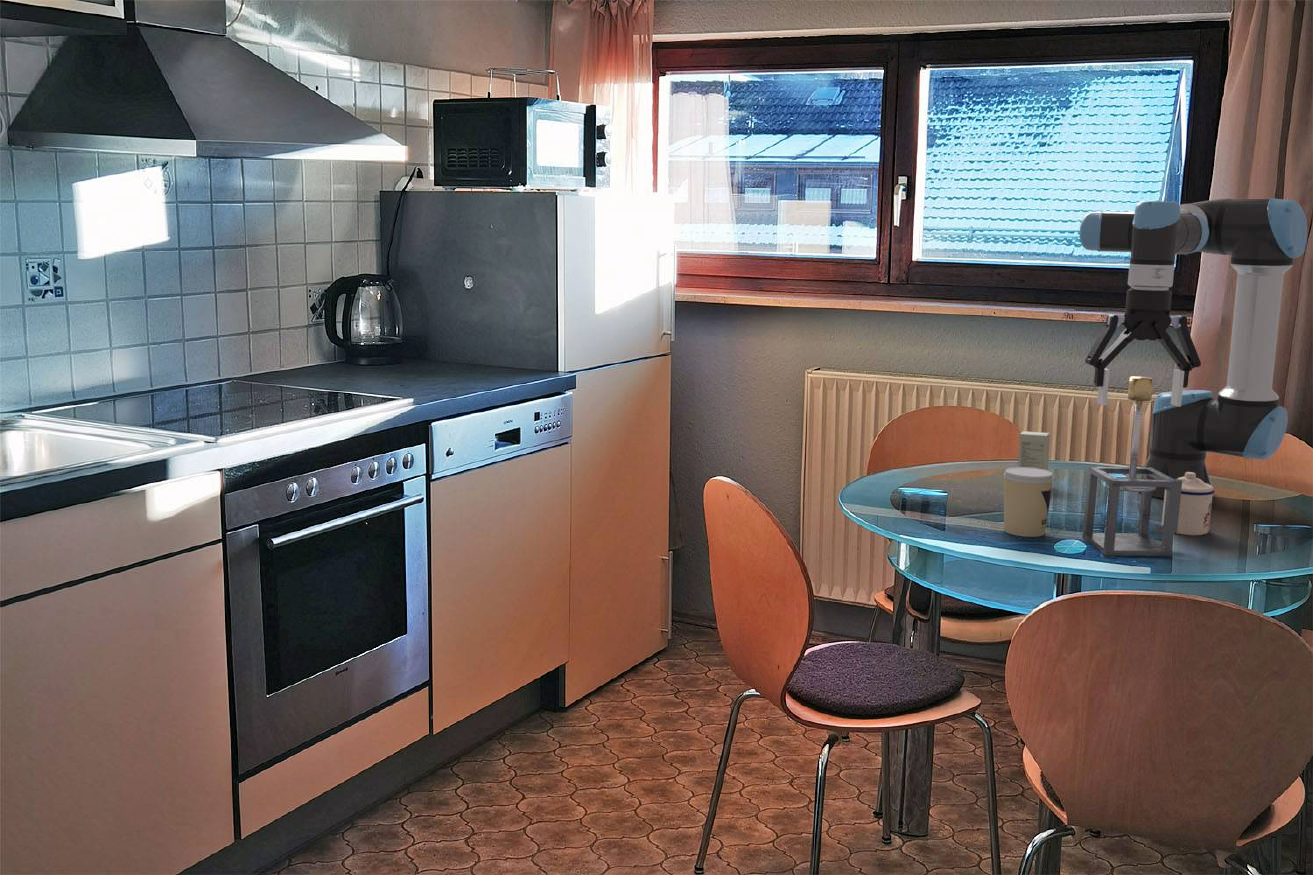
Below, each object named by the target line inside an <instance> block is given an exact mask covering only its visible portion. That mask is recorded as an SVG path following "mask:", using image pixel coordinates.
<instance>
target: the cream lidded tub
mask: <svg viewBox="0 0 1313 875" xmlns="http://www.w3.org/2000/svg"><path fill="white" fill-rule="evenodd" d="M1003 477H1004V478H1003V530H1004V532H1006V533H1007V534H1009V535H1013V536H1017V537H1026V538H1031V537H1032V538H1033V537H1036V538H1037V537H1042V536H1044V535H1045V534H1046V527H1047V523H1048V515H1049V511H1050V503H1051V497H1052V490H1053V484H1054V483H1053V482H1054V479H1055V477H1054V474H1053V472H1052V471H1049V469H1048V470H1044V469H1039V468H1031V467H1018V466H1015V467H1014V466H1013V467H1007V468H1006V469H1005V471H1004V472H1003Z"/></svg>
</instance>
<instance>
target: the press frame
mask: <svg viewBox="0 0 1313 875" xmlns="http://www.w3.org/2000/svg"><path fill="white" fill-rule="evenodd" d="M1129 469H1130V466H1088V472H1087V480H1086V482H1087V483H1086V492H1085V494H1086V495H1085V506H1084V518H1083V529H1082V539H1083V540H1085V541H1087V542H1088V543H1089V544H1090V545H1092V546H1093V547H1094V548H1095V549H1096V550H1098V551H1099V552H1101V553H1102V554H1104V555H1105V557H1106V556H1108V557H1109V556H1110V557H1111V556H1112V557H1115V556H1117V557H1123V556H1124V557H1172V554H1173V544H1174V534H1176V533H1177V528H1178V518H1179V508H1180V499H1181V489H1182V480H1180V479H1173V478H1171V477H1169V476H1167V475H1165V474H1163V473H1161V472H1159V471H1157V470H1155V469H1153V468H1151V467H1139V466H1137V469H1136V475H1141V474H1143V479H1144V480H1132V479H1116V478H1117V477H1114V476H1112V475H1129ZM1111 474H1112V475H1111ZM1154 478H1155V479H1157V480H1153V479H1154ZM1099 479H1100V480H1101V481H1102V482H1104V483H1106V484H1109V486H1108V493H1107V495H1108V497H1107V503H1106V504H1107V506H1106V514H1105V515H1106V518H1105V528H1104V532H1094V526H1095V525H1094V524H1095V514H1096V505H1097V504H1096V503H1097V493H1098V481H1099ZM1120 486H1123V487H1167V493H1166V504H1165V514H1164V524H1163V525H1162V524H1156V525H1155V532H1157V533H1158V534H1159V533H1162V537H1161V542H1159V541H1157V540H1156V539H1154V538H1153V537H1151V536H1150V535H1149V529H1150V520H1151V519H1150V518H1151V508H1152V497H1153V496H1152V491H1150V492H1142V493H1141V496H1140V497H1141V498H1140V506H1139V507H1140V508H1139V517H1138V530H1137V532H1136V533H1134V532H1117V522H1118V513H1119V512H1118V511H1119V500H1120V491H1121V490H1120Z"/></svg>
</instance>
